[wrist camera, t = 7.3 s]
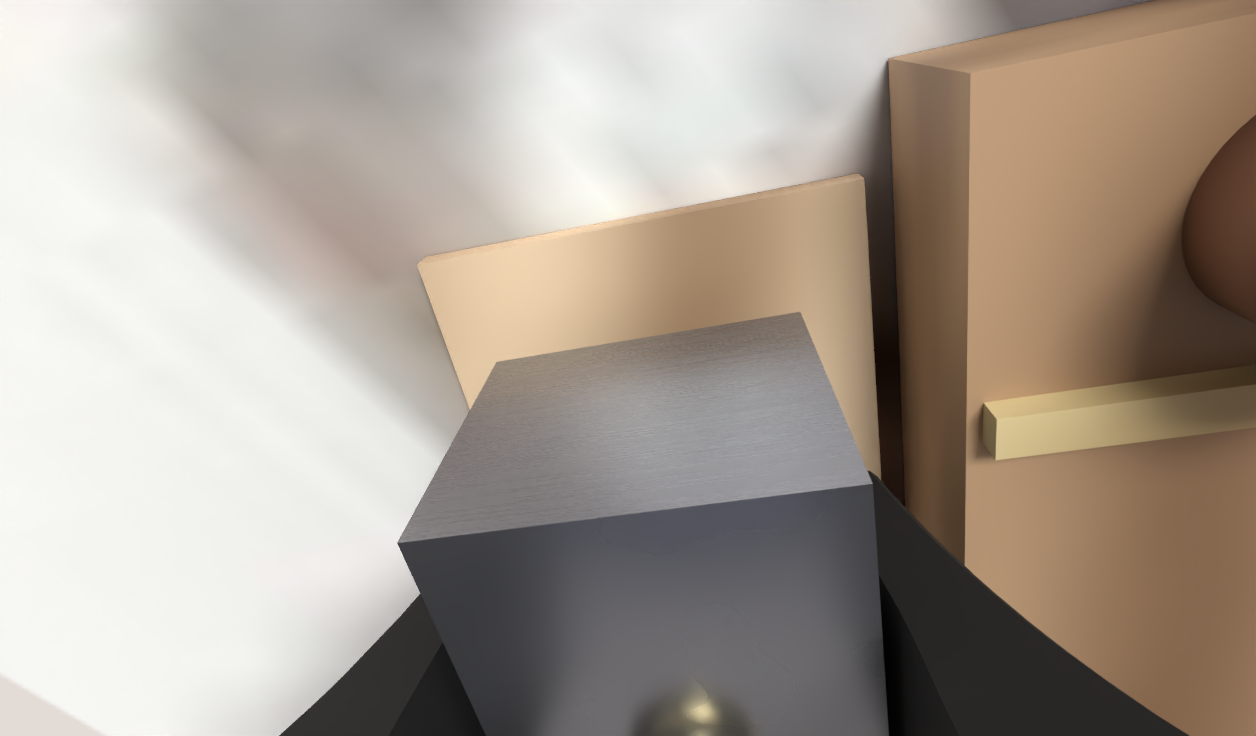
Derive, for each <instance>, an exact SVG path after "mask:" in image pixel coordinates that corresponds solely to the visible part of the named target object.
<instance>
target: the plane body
mask: <svg viewBox="0 0 1256 736" xmlns="http://www.w3.org/2000/svg"><path fill="white" fill-rule="evenodd" d="M888 63H889V90H890V116H891V143H892V169H893V196H894V223H895V249H896V276H897V302H898V329H899V355H900V382H901V409H902V435H903V462H904V488H905V508H906V509H907V510H908V511H909V512H910V513H911V514H912V515H913V516H914V517H915V518H916V519H917V520H918V521H919V522H920V523H921V524H922V525H923V526H924V527H925V528H926V529H927V530H928V531H929V532H930V533H931V534H932V535H933V536H934V537H935V538H936V539H937V540H938V541H939V542H940V543H941V544H942V545H943V546H944V547H945V548H946V549H947V550H948V551H949V552H950V553H952V554H953V555H954V556H955V557H956V558H957V559H958V560H959V561H960V562H961V563H962V564H963V565H964V566H965V567H967V568H968V569H969V570H970V571H971V572H972V573H973V574H974V575H975V576H976V577H977V578H979V579H980V580H981V581H982V582H983V583H984V584H985V585H986V586H988V587H989V588H990V589H991V590H992V591H993V592H994V593H996V594H997V595H998V596H999V597H1000V598H1002V599H1003V600H1004V601H1005V602H1006V603H1008V604H1009V605H1010V606H1011V607H1012V608H1014V609H1015V610H1016V611H1017V612H1018V613H1019V614H1021V615H1022V616H1023V617H1024V618H1025V619H1027V620H1028V621H1029V622H1030V623H1032V624H1033V625H1034V626H1035V627H1037V628H1038V629H1039V630H1040V631H1042V632H1043V633H1044V634H1045V635H1047V636H1048V637H1049V638H1051V639H1052V640H1053V641H1054V642H1056V643H1057V644H1058V645H1060V646H1061V647H1062V648H1063V649H1065V650H1066V651H1067V652H1069V653H1070V654H1071V655H1073V656H1074V657H1076V658H1077V659H1078V660H1080V661H1081V662H1082V663H1084V664H1085V665H1086V666H1088V667H1089V668H1091V669H1092V670H1093V671H1095V672H1096V673H1097V674H1099V675H1100V676H1102V677H1103V678H1104V679H1106V680H1107V681H1108V682H1110V683H1111V684H1113V685H1114V686H1116V687H1117V688H1119V689H1120V690H1121V691H1123V692H1124V693H1126V694H1127V695H1129V696H1130V697H1132V698H1133V699H1135V700H1136V701H1137V702H1139V703H1140V704H1142V705H1143V706H1145V707H1146V708H1148V709H1149V710H1150V711H1152V712H1153V713H1155V714H1156V715H1158V716H1159V717H1161V718H1162V719H1164V720H1166V721H1167V722H1169V723H1170V724H1172V725H1174V726H1175V727H1177V728H1178V729H1180V730H1182V731H1183V732H1185V733H1186V734H1188V735H1189V736H1256V0H1154V1H1149V2H1145V3H1140V4H1136V5H1131V6H1126V7H1122V8H1117V9H1113V10H1108V11H1103V12H1099V13H1094V14H1090V15H1085V16H1081V17H1076V18H1071V19H1067V20H1062V21H1058V22H1053V23H1048V24H1044V25H1039V26H1035V27H1030V28H1026V29H1021V30H1016V31H1012V32H1007V33H1003V34H998V35H993V36H989V37H984V38H980V39H975V40H971V41H966V42H961V43H957V44H952V45H948V46H943V47H938V48H934V49H929V50H925V51H920V52H915V53H911V54H906V55H902V56H897V57H893V58H888Z"/></svg>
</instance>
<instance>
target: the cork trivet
mask: <svg viewBox="0 0 1256 736" xmlns="http://www.w3.org/2000/svg"><path fill="white" fill-rule="evenodd" d="M417 266H418V269H419V272H420V274H421V277H422V280H423V283H424V285H425V288H426V291H427V294H428V296H429V299H430V302H431V305H432V307H433V310H434V313H435V315H436V318H437V321H438V324H439V326H440V329H441V332H442V335H443V337H444V340H445V343H446V346H447V348H448V351H449V354H450V357H451V359H452V362H453V365H454V368H455V370H456V373H457V376H458V379H459V381H460V384H461V387H462V390H463V392H464V395H465V398H466V400H467V403H468V406H469V409H471V408H472V406H473V404H474V402H475V400H476V398H477V397H478V395H479V393H480V391H481V389H482V387H483V386H484V384H485V382H486V380H487V378H488V376H489V375H490V373H491V371H492V369H493V367H494V365H495V364H496V362H499V361H505V360H511V359H517V358H523V357H529V356H535V355H541V354H547V353H553V352H559V351H565V350H571V349H577V348H583V347H590V346H596V345H602V344H608V343H614V342H620V341H626V340H632V339H638V338H644V337H650V336H656V335H662V334H668V333H674V332H680V331H686V330H692V329H698V328H704V327H710V326H717V325H723V324H729V323H735V322H741V321H747V320H753V319H759V318H765V317H771V316H777V315H783V314H789V313H795V312H801V315H802V317H803V319H804V322H805V324H806V326H807V329H808V331H809V334H810V336H811V338H812V341H813V343H814V345H815V348H816V350H817V353H818V355H819V357H820V360H821V362H822V364H823V367H824V369H825V372H826V374H827V376H828V379H829V381H830V383H831V386H832V388H833V391H834V393H835V395H836V398H837V400H838V402H839V405H840V407H841V410H842V412H843V414H844V417H845V419H846V421H847V424H848V426H849V429H850V431H851V433H852V436H853V438H854V440H855V443H856V445H857V448H858V450H859V452H860V455H861V457H862V459H863V462H864V464H865V467H866V469H867V471H871V472H872V473H874V474H875V475H876V476H878V478H879V479H880V480H881V466H880V448H879V430H878V413H877V395H876V377H875V359H874V341H873V323H872V305H871V287H870V270H869V252H868V234H867V216H866V198H865V180H864V178H863V177H862V176H861V175H859V174H858V173H856V174H851V175H846V176H841V177H836V178H831V179H825V180H820V181H815V182H810V183H805V184H800V185H794V186H789V187H784V188H779V189H774V190H769V191H764V192H758V193H753V194H748V195H743V196H738V197H733V198H728V199H722V200H717V201H712V202H707V203H702V204H697V205H691V206H686V207H681V208H676V209H671V210H666V211H661V212H655V213H650V214H645V215H640V216H635V217H630V218H625V219H619V220H614V221H609V222H604V223H599V224H594V225H588V226H583V227H578V228H573V229H568V230H563V231H558V232H552V233H547V234H542V235H537V236H532V237H527V238H522V239H516V240H511V241H506V242H501V243H496V244H491V245H485V246H480V247H475V248H470V249H465V250H460V251H455V252H449V253H444V254H439V255H434V256H429V257H425V258H424V259H423V260H422V261H421V262H420V263H419V264H417Z"/></svg>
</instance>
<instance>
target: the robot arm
mask: <svg viewBox="0 0 1256 736" xmlns="http://www.w3.org/2000/svg"><path fill="white" fill-rule="evenodd" d="M868 474H869V476H870V478H871V481H872V483H873V495H874V511H875V527H876V542H877V558H878V573H879V589H880V604H881V620H882V635H883V651H884V666H885V682H886V697H887V713H888V728H889V736H1189V735H1188V734H1186V733H1185V732H1183V731H1182V730H1180V729H1178V728H1177V727H1175V726H1174V725H1172V724H1170V723H1169V722H1167V721H1166V720H1164V719H1162V718H1161V717H1159V716H1158V715H1156V714H1155V713H1153V712H1152V711H1150V710H1149V709H1148V708H1146V707H1145V706H1143V705H1142V704H1140V703H1139V702H1137V701H1136V700H1135V699H1133V698H1132V697H1130V696H1129V695H1127V694H1126V693H1124V692H1123V691H1121V690H1120V689H1119V688H1117V687H1116V686H1114V685H1113V684H1111V683H1110V682H1108V681H1107V680H1106V679H1104V678H1103V677H1102V676H1100V675H1099V674H1097V673H1096V672H1095V671H1093V670H1092V669H1091V668H1089V667H1088V666H1086V665H1085V664H1084V663H1082V662H1081V661H1080V660H1078V659H1077V658H1076V657H1074V656H1073V655H1071V654H1070V653H1069V652H1067V651H1066V650H1065V649H1063V648H1062V647H1061V646H1060V645H1058V644H1057V643H1056V642H1054V641H1053V640H1052V639H1051V638H1049V637H1048V636H1047V635H1045V634H1044V633H1043V632H1042V631H1040V630H1039V629H1038V628H1037V627H1035V626H1034V625H1033V624H1032V623H1030V622H1029V621H1028V620H1027V619H1025V618H1024V617H1023V616H1022V615H1021V614H1019V613H1018V612H1017V611H1016V610H1015V609H1014V608H1012V607H1011V606H1010V605H1009V604H1008V603H1006V602H1005V601H1004V600H1003V599H1002V598H1000V597H999V596H998V595H997V594H996V593H994V592H993V591H992V590H991V589H990V588H989V587H988V586H986V585H985V584H984V583H983V582H982V581H981V580H980V579H979V578H977V577H976V576H975V575H974V574H973V573H972V572H971V571H970V570H969V569H968V568H967V567H965V566H964V565H963V564H962V563H961V562H960V561H959V560H958V559H957V558H956V557H955V556H954V555H953V554H952V553H950V552H949V551H948V550H947V549H946V548H945V547H944V546H943V545H942V544H941V543H940V542H939V541H938V540H937V539H936V538H935V537H934V536H933V535H932V534H931V533H930V532H929V531H928V530H927V529H926V528H925V527H924V526H923V525H922V524H921V523H920V522H919V521H918V520H917V519H916V518H915V517H914V516H913V515H912V514H911V513H910V512H909V511H908V510H907V509H906V508H905V507H904V506H903V505H902V503H901V502H900V501H899V500H898V499H897V498H896V497H895V496H894V495H893V494H892V493H891V491H890V490H889V489H888V488H887V487H886V486H885V485H884V483H883V482H882V481H881V480H880V479H879V478H878V476H876V475H875V474H874V473H872V472H871V471H868ZM279 736H486V735H485V732H484V730H483V728H482V726H481V724H480V722H479V719H478V717H477V715H476V713H475V711H474V709H473V706H472V704H471V702H470V700H469V698H468V696H467V693H466V691H465V689H464V687H463V685H462V682H461V680H460V678H459V676H458V674H457V672H456V669H455V667H454V665H453V663H452V661H451V659H450V656H449V654H448V652H447V650H446V648H445V646H444V643H443V641H442V639H441V637H440V635H439V633H438V630H437V628H436V626H435V624H434V622H433V619H432V617H431V615H430V613H429V611H428V609H427V606H426V604H425V602H424V600H423V598H422V596H421V594H420V595H419V596H418V597H417V598H416V599H415V600H414V602H413V603H412V604H411V605H410V606H409V607H408V608H407V609H406V611H405V612H404V613H403V614H402V615H401V616H400V617H399V618H398V620H397V621H396V622H395V623H394V624H393V625H392V626H391V627H390V628H389V629H388V630H387V631H386V632H385V633H384V634H383V635H382V636H381V637H380V638H379V639H378V640H377V642H376V643H375V644H374V645H373V646H372V647H371V648H370V649H369V650H368V651H367V652H366V653H365V654H364V655H363V656H362V657H361V658H360V659H359V660H358V661H357V662H356V663H355V664H354V666H353V667H352V668H351V669H350V670H349V671H348V672H347V673H346V674H345V675H344V676H343V677H342V678H341V679H340V680H339V681H338V682H337V683H336V684H335V685H334V686H333V687H332V688H331V689H330V690H329V691H328V692H326V693H325V694H324V695H323V696H322V697H321V698H320V699H319V700H318V701H317V702H316V703H315V704H314V705H313V706H312V707H311V708H309V709H308V710H307V711H306V712H305V713H304V714H303V715H302V716H301V717H299V718H298V719H297V720H296V721H295V722H294V723H293V724H292V725H291V726H289V727H288V728H287V729H286V730H285V731H284V732H283V733H282V734H281V735H279Z"/></svg>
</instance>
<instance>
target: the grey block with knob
mask: <svg viewBox="0 0 1256 736" xmlns="http://www.w3.org/2000/svg"><path fill="white" fill-rule="evenodd" d="M398 546H399V548H400V550H401V552H402V554H403V556H404V559H405V561H406V563H407V565H408V567H409V570H410V572H411V574H412V576H413V578H414V580H415V583H416V585H417V587H418V589H419V591H420V593H421V596H422V598H423V600H424V602H425V604H426V606H427V609H428V611H429V613H430V615H431V617H432V619H433V622H434V624H435V626H436V628H437V630H438V633H439V635H440V637H441V639H442V641H443V643H444V646H445V648H446V650H447V652H448V654H449V656H450V659H451V661H452V663H453V665H454V667H455V669H456V672H457V674H458V676H459V678H460V680H461V682H462V685H463V687H464V689H465V691H466V693H467V696H468V698H469V700H470V702H471V704H472V706H473V709H474V711H475V713H476V715H477V717H478V719H479V722H480V724H481V726H482V728H483V730H484V732H485V735H486V736H889V728H888V713H887V697H886V682H885V666H884V651H883V635H882V620H881V604H880V589H879V573H878V558H877V542H876V527H875V511H874V495H873V483H872V481H871V478H870V476H869V474H868V471H867V469H866V467H865V464H864V462H863V459H862V457H861V455H860V452H859V450H858V448H857V445H856V443H855V440H854V438H853V436H852V433H851V431H850V429H849V426H848V424H847V421H846V419H845V417H844V414H843V412H842V410H841V407H840V405H839V402H838V400H837V398H836V395H835V393H834V391H833V388H832V386H831V383H830V381H829V379H828V376H827V374H826V372H825V369H824V367H823V364H822V362H821V360H820V357H819V355H818V353H817V350H816V348H815V345H814V343H813V341H812V338H811V336H810V334H809V331H808V329H807V326H806V324H805V322H804V319H803V317H802V315H801V312H795V313H789V314H783V315H777V316H771V317H765V318H759V319H753V320H747V321H741V322H735V323H729V324H723V325H717V326H710V327H704V328H698V329H692V330H686V331H680V332H674V333H668V334H662V335H656V336H650V337H644V338H638V339H632V340H626V341H620V342H614V343H608V344H602V345H596V346H590V347H583V348H577V349H571V350H565V351H559V352H553V353H547V354H541V355H535V356H529V357H523V358H517V359H511V360H505V361H499V362H496V364H495V365H494V367H493V369H492V371H491V373H490V375H489V376H488V378H487V380H486V382H485V384H484V386H483V387H482V389H481V391H480V393H479V395H478V397H477V398H476V400H475V402H474V404H473V406H472V408H471V409H470V411H469V413H468V415H467V417H466V418H465V420H464V422H463V424H462V426H461V428H460V429H459V431H458V433H457V435H456V437H455V439H454V440H453V442H452V444H451V446H450V448H449V450H448V451H447V453H446V455H445V457H444V459H443V461H442V462H441V464H440V466H439V468H438V470H437V471H436V473H435V475H434V477H433V479H432V481H431V482H430V484H429V486H428V488H427V490H426V492H425V493H424V495H423V497H422V499H421V501H420V503H419V504H418V506H417V508H416V510H415V512H414V513H413V515H412V517H411V519H410V521H409V523H408V524H407V526H406V528H405V530H404V532H403V534H402V535H401V537H400V539H399V541H398Z"/></svg>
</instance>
